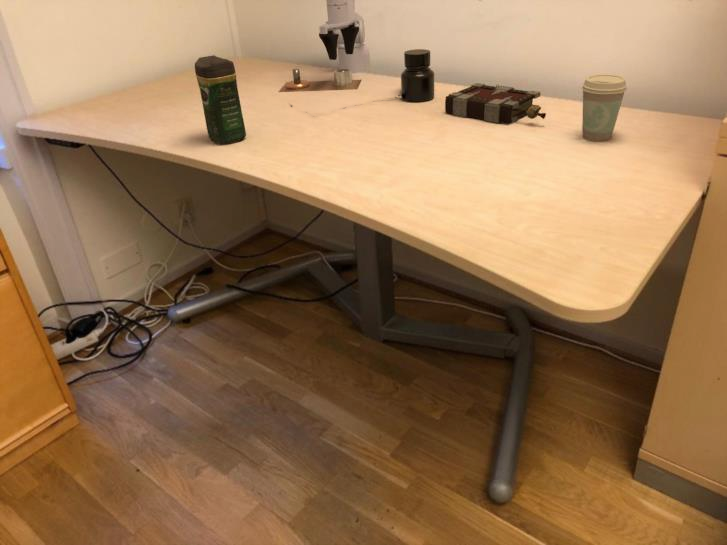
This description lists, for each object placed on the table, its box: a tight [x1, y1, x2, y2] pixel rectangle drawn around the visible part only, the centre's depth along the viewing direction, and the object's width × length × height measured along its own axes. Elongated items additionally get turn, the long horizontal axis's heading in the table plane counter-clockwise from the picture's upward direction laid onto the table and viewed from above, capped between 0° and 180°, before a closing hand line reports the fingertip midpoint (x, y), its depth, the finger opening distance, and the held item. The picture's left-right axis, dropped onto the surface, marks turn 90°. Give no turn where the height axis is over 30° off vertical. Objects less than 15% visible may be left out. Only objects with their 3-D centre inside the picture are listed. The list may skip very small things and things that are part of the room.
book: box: [444, 82, 547, 125], centre depth 140 cm, size 15×25×5 cm, turn 47°
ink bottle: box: [400, 48, 435, 103], centre depth 155 cm, size 10×9×12 cm
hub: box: [285, 68, 310, 90], centre depth 170 cm, size 7×7×5 cm
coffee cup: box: [581, 74, 628, 142], centre depth 121 cm, size 8×8×12 cm
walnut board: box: [277, 79, 362, 93], centre depth 171 cm, size 23×11×2 cm, turn 84°
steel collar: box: [333, 68, 353, 87], centre depth 169 cm, size 5×5×4 cm
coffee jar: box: [194, 54, 247, 144], centre depth 134 cm, size 10×8×19 cm
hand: (341, 56), depth 166 cm, fingers open, 7 cm apart
